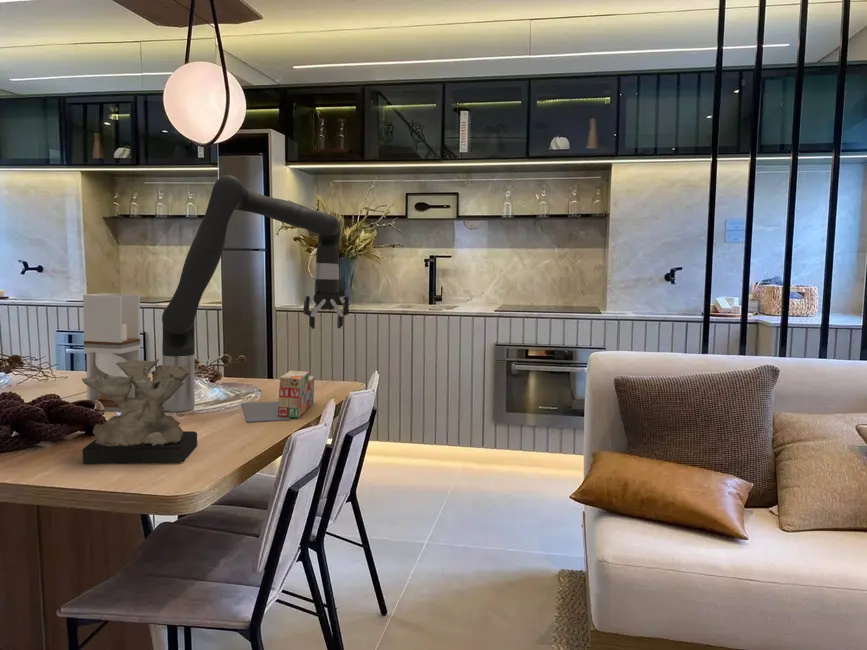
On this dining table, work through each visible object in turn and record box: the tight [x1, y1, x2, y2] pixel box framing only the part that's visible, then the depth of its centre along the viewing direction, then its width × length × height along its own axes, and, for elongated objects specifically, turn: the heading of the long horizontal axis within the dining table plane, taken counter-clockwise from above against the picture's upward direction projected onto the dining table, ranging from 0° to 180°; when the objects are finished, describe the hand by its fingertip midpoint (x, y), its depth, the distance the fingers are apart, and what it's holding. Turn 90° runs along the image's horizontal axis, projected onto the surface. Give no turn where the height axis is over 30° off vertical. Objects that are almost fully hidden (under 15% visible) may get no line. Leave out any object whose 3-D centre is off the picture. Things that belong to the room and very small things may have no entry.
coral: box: [81, 358, 198, 465], centre depth 143 cm, size 25×20×21 cm
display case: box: [82, 293, 141, 412], centre depth 184 cm, size 11×11×35 cm
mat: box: [241, 400, 291, 424], centre depth 186 cm, size 12×24×1 cm, turn 21°
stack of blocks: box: [278, 370, 315, 419], centre depth 189 cm, size 21×6×12 cm, turn 179°
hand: (326, 328), depth 191 cm, fingers open, 8 cm apart
